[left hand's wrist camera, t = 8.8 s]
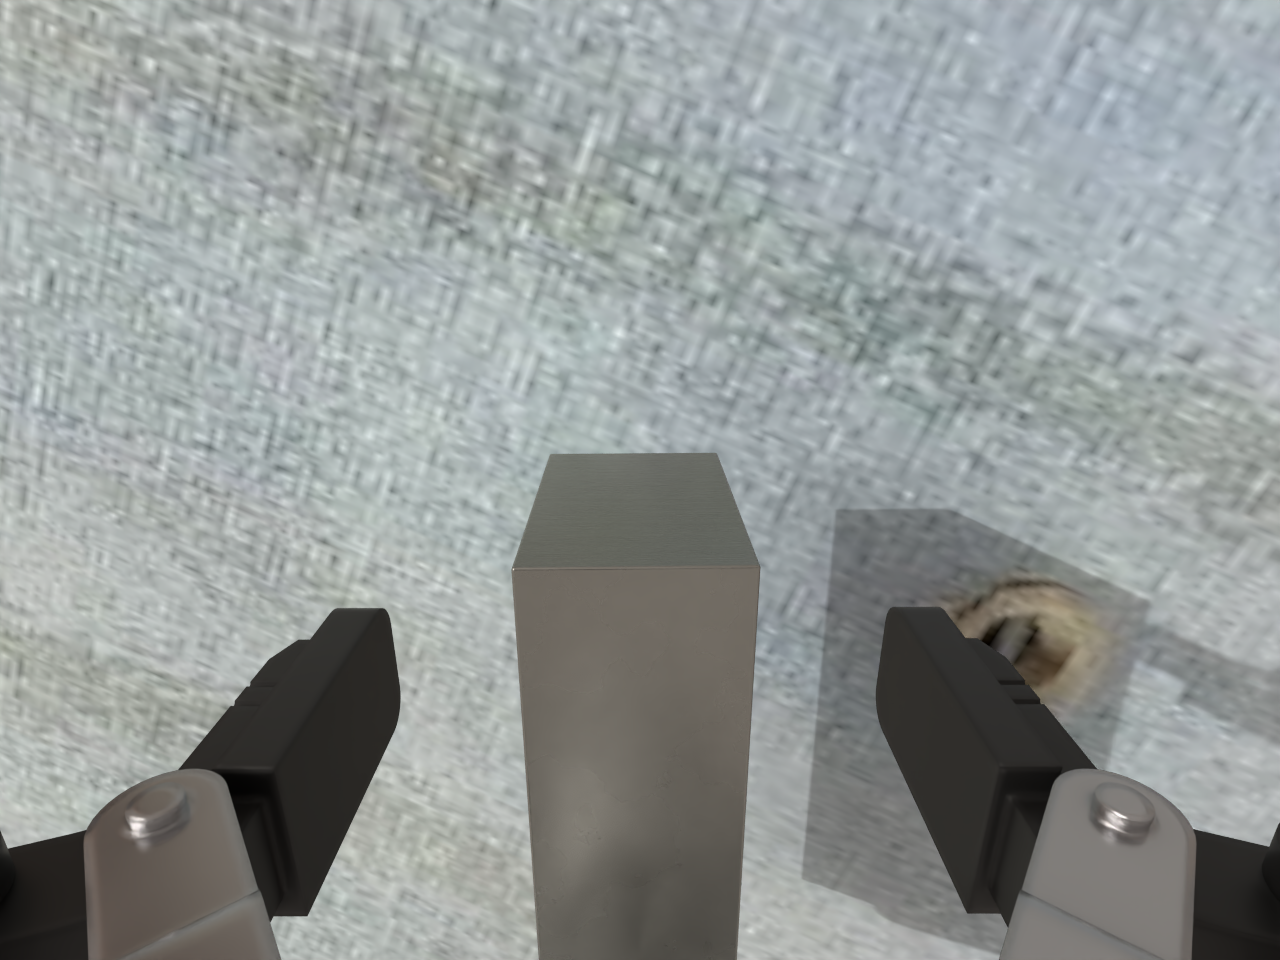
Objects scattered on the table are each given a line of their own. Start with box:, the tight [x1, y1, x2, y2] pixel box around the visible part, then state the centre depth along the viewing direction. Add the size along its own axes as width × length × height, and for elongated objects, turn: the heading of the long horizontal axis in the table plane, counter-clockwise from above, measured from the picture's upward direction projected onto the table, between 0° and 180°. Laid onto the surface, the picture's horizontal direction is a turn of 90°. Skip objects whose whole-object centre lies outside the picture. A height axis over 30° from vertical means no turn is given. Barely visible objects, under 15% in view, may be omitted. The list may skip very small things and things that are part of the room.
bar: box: [512, 453, 760, 960], centre depth 25 cm, size 25×6×9 cm, turn 0°
